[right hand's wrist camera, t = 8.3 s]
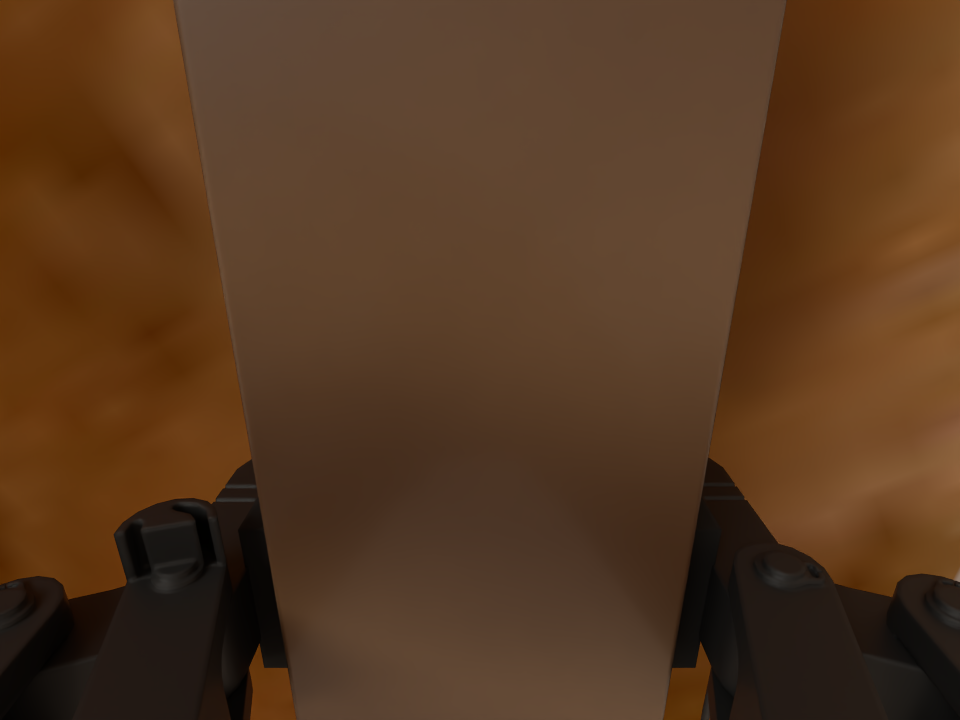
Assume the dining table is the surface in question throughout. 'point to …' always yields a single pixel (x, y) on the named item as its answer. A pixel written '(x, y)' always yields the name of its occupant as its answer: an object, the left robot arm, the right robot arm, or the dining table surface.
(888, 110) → the dining table surface
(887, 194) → the dining table surface
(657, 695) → the beam
